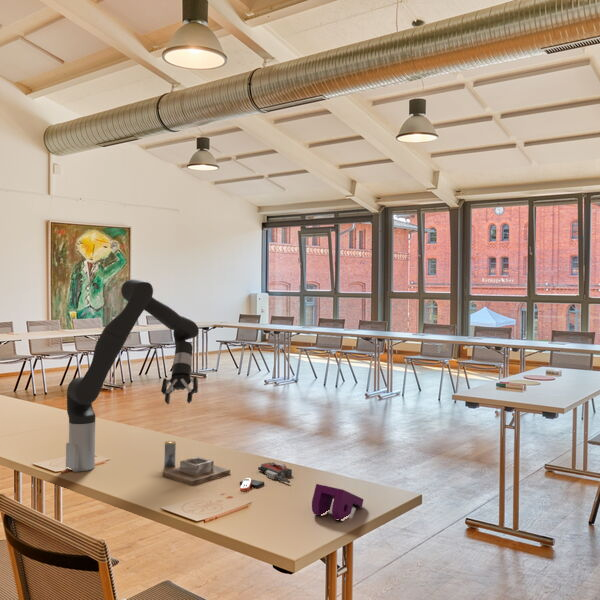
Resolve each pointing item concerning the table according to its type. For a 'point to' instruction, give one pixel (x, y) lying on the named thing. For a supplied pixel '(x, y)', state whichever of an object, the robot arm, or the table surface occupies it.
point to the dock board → (196, 471)
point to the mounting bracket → (340, 503)
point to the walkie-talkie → (276, 471)
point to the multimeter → (249, 484)
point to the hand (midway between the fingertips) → (178, 402)
